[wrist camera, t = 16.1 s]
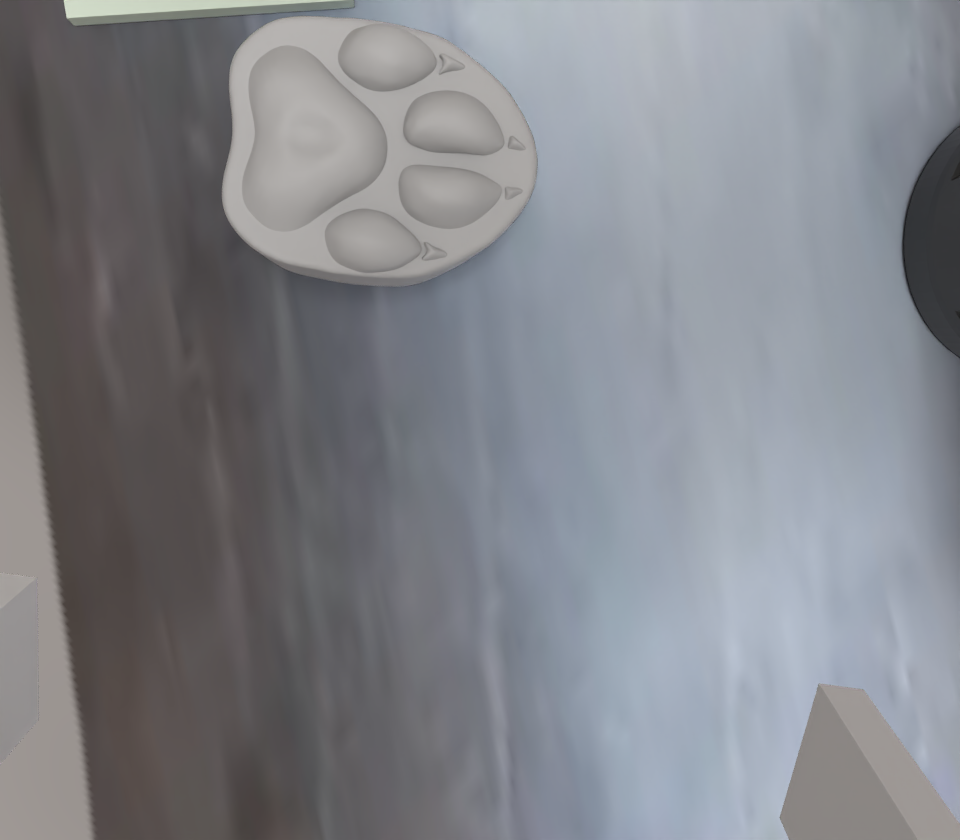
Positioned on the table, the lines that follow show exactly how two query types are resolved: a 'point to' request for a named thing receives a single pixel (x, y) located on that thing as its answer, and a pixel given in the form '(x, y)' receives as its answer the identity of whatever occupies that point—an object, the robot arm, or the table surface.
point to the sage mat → (184, 9)
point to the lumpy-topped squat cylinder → (370, 151)
